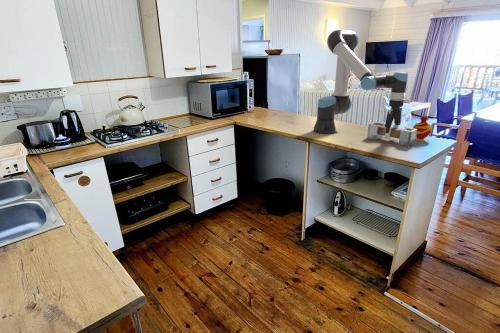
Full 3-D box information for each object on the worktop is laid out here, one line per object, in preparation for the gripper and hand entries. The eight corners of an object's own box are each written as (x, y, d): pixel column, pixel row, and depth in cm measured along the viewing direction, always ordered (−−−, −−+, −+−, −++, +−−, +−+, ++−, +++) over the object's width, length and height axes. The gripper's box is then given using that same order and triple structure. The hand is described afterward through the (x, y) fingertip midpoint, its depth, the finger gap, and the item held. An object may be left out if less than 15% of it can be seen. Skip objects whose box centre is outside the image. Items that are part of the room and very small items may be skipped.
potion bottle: (419, 143, 176) (424, 118, 171) (406, 138, 186) (411, 115, 180) (433, 141, 179) (439, 117, 173) (420, 137, 188) (425, 113, 183)
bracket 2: (398, 144, 175) (400, 129, 171) (404, 141, 180) (407, 127, 176) (408, 146, 170) (411, 131, 167) (414, 143, 175) (417, 129, 172)
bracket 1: (382, 137, 190) (384, 123, 186) (375, 139, 184) (377, 125, 181) (373, 135, 194) (375, 122, 190) (366, 137, 189) (368, 124, 185)
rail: (374, 133, 186) (375, 126, 184) (377, 132, 189) (378, 125, 187) (407, 140, 172) (408, 131, 171) (409, 138, 175) (411, 130, 173)
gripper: (394, 102, 164) (388, 141, 172) (411, 98, 177) (404, 134, 185) (381, 100, 169) (376, 138, 177) (398, 96, 182) (392, 132, 190)
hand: (390, 136), depth 181 cm, fingers open, 9 cm apart
